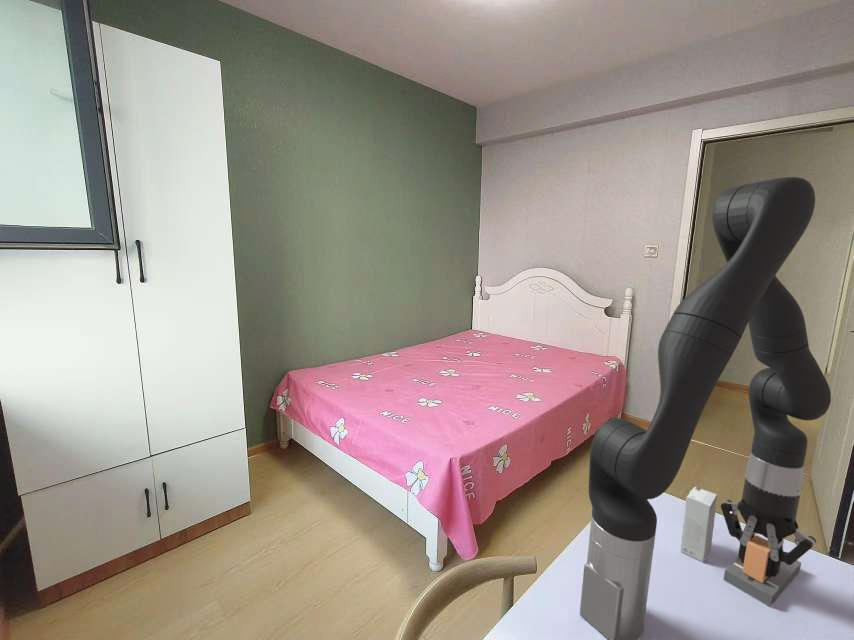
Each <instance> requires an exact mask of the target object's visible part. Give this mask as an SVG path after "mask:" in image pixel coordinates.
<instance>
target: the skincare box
mask: <svg viewBox="0 0 854 640" xmlns="http://www.w3.org/2000/svg"><path fill="white" fill-rule="evenodd" d="M717 499H718V495H717V494H716V493H714V492H711V491H709V490H705V489H702V488H699V487H697V486H694V487H693V488H692V489H691V490H690V491H689V493H688V495H687V496H686V499H685V507H684V515H683V523H682V532H681V533H682V534H681V542H680V553H683V554H684V555H686V556H689V557H690V558H693V559H694V560H696V561H699V562H701V563H703V562H705V561H706V560H707V558H708V556H709V554H710V552H711V549H712V543H713V535H714V527H715V517H716V508H717Z"/></svg>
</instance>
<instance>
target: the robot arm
mask: <svg viewBox="0 0 854 640" xmlns="http://www.w3.org/2000/svg"><path fill="white" fill-rule="evenodd" d="M815 193H816V192H815V190H814V187H813V185H812V184H811V183H810V182H809V181H808V180H806V179H805V178H803V177H799V176H788V177H787V176H786V177H778V178H772V179H767V180H762V181H756V182H751V183H746V184H741V185H737V186H734V187H730V188H728V189H726V190H724V191H723V192H722V193H721V194H720V195H719V196H718V198H717V199H716V201H715V203H714V205H713V209H712V211H711V212H712V213H711V214H712V215H711V219H712V221H711V222H712V226H713V230H714V233H715V234H714V235H715V236H716V239H717V243H718V245H719V247H720V249H721V252H722V255H723V257H724V259H725V261H726V263H725V264H724V265H723V266H722V267H721V268H720V269H719V270H717V271H716V272H715V273H714V274H713V275H711V276H710V277H709V278H708V279H706V280H705V281H704V282H702V283H701V284H699V286H697V287H696V288H695V289H693V290H692V291H691V292H690V293H689V294H688V295H687V296H686V297H684V299H682V301H680V303H679V304H678V305H677V307H676V308H675V309H674V312H673V313H672V315H671V317H670V319H669V320H668V322H667V325H666V327H665V329H664V331H663V332H662V335H661V337H660V339H659V342H658V348H657V358H658V363H657V364H658V370H659V371H658V373H659V381H660V395H659V402H658V404H657V408H656V410H655V413H654V415H653V417H652V419H651V422H650V424H649V425H648V427H647V429H646V428H644V427H642V426H641V425H639V424H636V423H634V422H632V421H630V420H628V419H625V418H612V419H608V420H607V421H605V422H604V423H602V424H601V425H600V427H599V428H598V429H597V431H596V432H595V434H594V436H593V439H592V442H591V447H590V452H589V465H588V466H589V468H588V469H589V470H588V471H589V472H588V497H589V500H590V504H591V517H590V519H591V520H590V530H589V540H588V549H587V559H586V563H584V565H583V566H584V567H583V575H582V577H583V578H582V586H581V597H580V607H579V615H580V616H581V617H582V618H583V619H584V620H586V621H587V622H588V623H589V624H590V625H592V626H593V627H594V628H595V629H596V630H597V631H598V632H600V633H601V635H603V636H604V637H605V638H606V639H608V640H636V639H638V638H639V637H640V636H642V634H643V632H644V625H645V619H646V612H647V611H646V610H647V603H648V595H649V587H650V586H649V585H650V579H651V573H652V572H651V571H652V564H653V555H654V548H655V540H656V531H657V526H658V525H657V524H658V516H657V512H656V511H655V509H654V507H653V506H652V504H651V502H649V500H653V499H656V498H658V497H660V496H661V495H662V494H663V495H664V493H665V492H666V490H668V489H669V488H670V486H671V485H672V483H673V482H674V480H675V479H676V476H677V475H678V472H679V471H680V468H681V466H682V464H683V462H684V459H685V457H686V454H687V451H688V448H689V447H690V444H691V441H692V438H693V435H694V433H695V431H696V427H697V425H698V423H699V421H700V418H701V416H702V413H703V412H704V409H705V407H706V405H707V402H708V401H709V399H710V397H711V394H712V392H713V390H714V389H715V387H716V385H717V383H718V381H719V380H720V377H721V376H722V374H723V372H724V370H725V369H726V367H727V365H728V363H729V362H730V360H731V358H732V356H733V354H734V352H735V351H736V349H737V347H738V346H739V343H740V341H741V339H742V337H743V334H744V333H745V330H746V328H747V326H748V328H749V333H750V334H749V335H750V339H751V345H752V351H753V353H754V357H755V358H756V359H757V361H758V362H760V363H761V364H763V365H765V366H766V367H765V368H763V369H761V370H759V371H758V372H757V373H755V375H753V377H752V379H751V381H750V383H749V387H748V402H749V406H750V413H751V420H752V424H753V428H754V429H753V430H754V433H753V434H754V435H753V437H752V443H751V450H750V453H749V454H750V455H749V458H748V460H747V464H746V470H745V477H744V483H743V489H742V496H741V500H740V501H739V502H733V501H732V500H730V499H727V500H725V501H723V503H721V504H720V508H721V511H722V514H723V517H724V520H725V523H726V528H727V530H728V534H729V535H730V536H731V537H733V538H735V539H736V540H737V541H739V550H738V558H739V559H741V563H743V564H744V559H745V553H746V547H747V542H749V541H750V540H751V539H752V538H753V537H754V536H755V535H757V534H758V535H761V536H763V537H764V538H765V539H766V540H768V546H769V549H770V557H769V558H768V562H767V568H766V574H765V576H767V577H769V578H771V577H772V576H773V577H775V576H776V575H777V574H778V573H779V569H780V564H781V562H785V563H786V564H788V565H791V564H793V563H794V562H795V561H796V560H797V561H799V559H800V558H802V557H803V555H805V554H807V552H808V551H810V550H811V549H813V547H814V545H815V544H816V543H817V540H816V538H815V537H814V536H811V535H807V534H805V533H804V532H803V531H802V530H800V528H799V524H798V522H797V516H798V515H797V514H798V508H799V503H800V498H801V492H802V490H803V481H804V464H805V460H806V459H805V458H806V454H807V449H808V436H807V435H806V433H805V432H804V431H802V430H801V429H800V428H798V427H797V426H795V424H793V423H792V422H791V421H790V420H789V418H788V416H789V417H792V418H794V419H798V420H801V421H814V420H817V419H820V418H821V417H823V416H824V415H825V414H826V413H827V412H828V411H829V408H830V406H831V402H832V392H831V389H830V386H829V385H830V384H829V383H828V380H827V378H826V376H825V375H824V373H823V371H822V369H821V368H820V366H819V364H818V362H817V360H816V358H815V356H814V355H813V354H812V352H811V350H810V346H809V345H810V344H809V340H808V339H809V337H808V333H807V325H806V320H805V316H804V313H803V311H802V309H801V306H800V304H799V303H798V302H797V300H796V299H795V297H794V296H793V294H792V293H791V292H790V291H789V290H788V288H786V286H785V285H784V284H783V283H782V282H781V281H780V280H779V278H778V277H777V276H776V275H777V274H778V272H779V270H780V269H781V268H782V266H783V265H784V263H785V261H787V259H788V257H789V256H790V254H791V253H792V251H793V250H794V248H795V247H796V245H797V244H798V243H799V241H800V239H802V236H803V234H805V232H806V230H807V227H808V226H809V224H810V221H811V219H812V217H813V215H814V211H815V206H816V194H815ZM738 513H740V515H741V517H742V519H743V520H744V522H745V526H744V528H743V529H742V526H741V523H740V520H739V517H738ZM791 535H793V536H794V538H795V539H794V543H795V545H796V546H794V548H793V549H791V550H789V552H788V551H784V543H785V541H784V539H785V538H787V537H789V536H791Z"/></svg>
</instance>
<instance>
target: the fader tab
mask: <svg viewBox="0 0 854 640" xmlns="http://www.w3.org/2000/svg"><path fill="white" fill-rule="evenodd" d="M769 557H770V549H769V546H768V539H767V538H763V537H762V536H759V535H757V534H755V536H754V537H753V538H752V539H751V540H750V541H749V542H747V547H746V553H745V559H744V565H743V571H742V572H743V573H745V574H747V575H749V576H750V577H752V578H754V579H756V580H758V581H759V582H761V583H763V582H764V581H765V580H766V578H767V576H765V574H766V568H767V562H768V558H769Z"/></svg>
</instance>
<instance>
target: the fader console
mask: <svg viewBox="0 0 854 640" xmlns="http://www.w3.org/2000/svg"><path fill="white" fill-rule="evenodd" d="M743 565H744V564H743V563H741V559H739V557H737V558H736V559H735V560H734V561H733V562H732V563H731V564H730V565H728V567H726V568H725V570H724V574H723V581H725V582H727V583H729V584H730V585H732V586H734V587H735V588H737V589H739V590H740V591H742V592H743V593H745V594H747V595H749V596H751V597H752V598H754V599H755V600H757V601H759V602H760V603H762V604H765V605H766V606H768V607H772V605H773V604H774V603H775V602H776V600H777V599H779V597H780V596H781V595H782V593H783V592H784V591H785V590H786V588H788V586H789V585H790V584H791V583H792V581H793V580H794V579H795V578H796V576H797V575H799V573H800V571H801V568H802V567H801V566H802V562H801V561H799V560H796V561H795V562H794V563H793V564H791V565H788V564H786V563H785V562H781V564H780V569H779V573H778V574H777V575H776V576H775V577H773V576H772V577H771V578H769V577H767V578H766V580H765V581H764V582H763V583H761V582H759V581H758V580H756V579H754V578H752V577H750V576H749V575H747V574H745V573H743V572H742V571H743Z"/></svg>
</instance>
